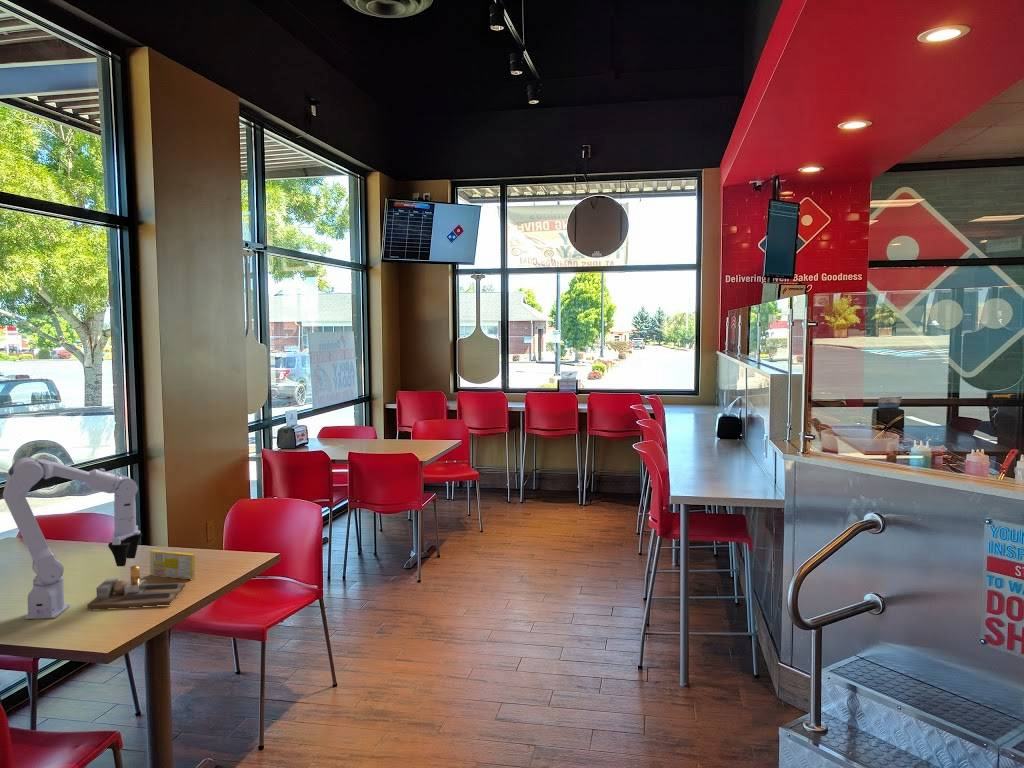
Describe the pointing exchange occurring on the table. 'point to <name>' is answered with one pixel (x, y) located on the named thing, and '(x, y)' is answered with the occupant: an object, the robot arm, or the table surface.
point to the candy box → (172, 564)
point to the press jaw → (135, 582)
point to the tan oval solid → (119, 587)
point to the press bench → (134, 596)
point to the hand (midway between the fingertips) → (126, 562)
